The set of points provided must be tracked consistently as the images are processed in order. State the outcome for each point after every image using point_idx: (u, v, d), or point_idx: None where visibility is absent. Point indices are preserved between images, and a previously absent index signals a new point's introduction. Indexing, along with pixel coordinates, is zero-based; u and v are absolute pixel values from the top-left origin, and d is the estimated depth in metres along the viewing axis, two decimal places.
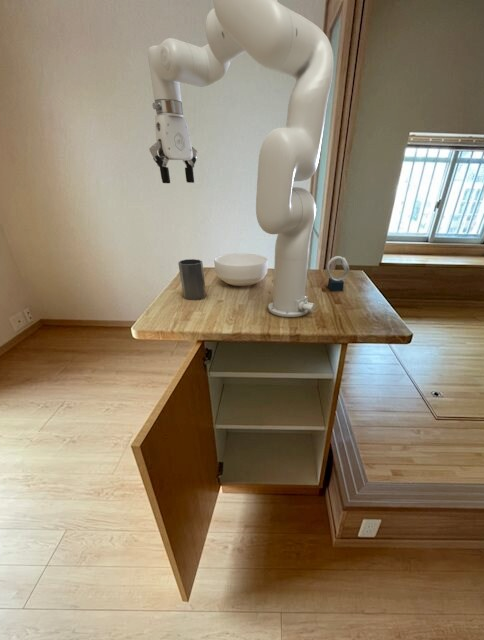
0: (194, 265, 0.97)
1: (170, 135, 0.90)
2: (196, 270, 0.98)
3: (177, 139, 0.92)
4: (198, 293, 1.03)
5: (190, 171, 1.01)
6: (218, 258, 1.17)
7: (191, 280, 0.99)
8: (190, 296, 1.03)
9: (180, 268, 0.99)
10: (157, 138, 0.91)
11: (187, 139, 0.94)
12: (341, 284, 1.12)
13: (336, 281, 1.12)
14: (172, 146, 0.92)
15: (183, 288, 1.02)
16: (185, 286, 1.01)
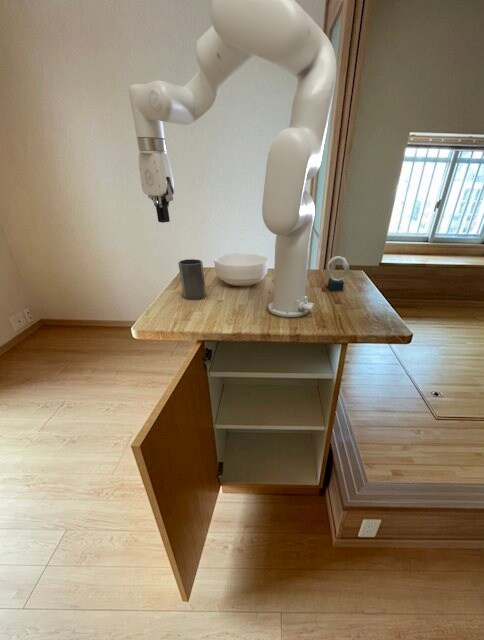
0: (194, 265, 0.97)
1: (142, 172, 0.90)
2: (196, 270, 0.98)
3: (147, 175, 0.90)
4: (198, 293, 1.03)
5: None
6: (218, 258, 1.17)
7: (191, 280, 0.99)
8: (190, 296, 1.03)
9: (180, 268, 0.99)
10: None
11: (155, 175, 0.88)
12: (341, 284, 1.12)
13: (336, 281, 1.12)
14: (144, 182, 0.92)
15: (183, 288, 1.02)
16: (185, 286, 1.01)
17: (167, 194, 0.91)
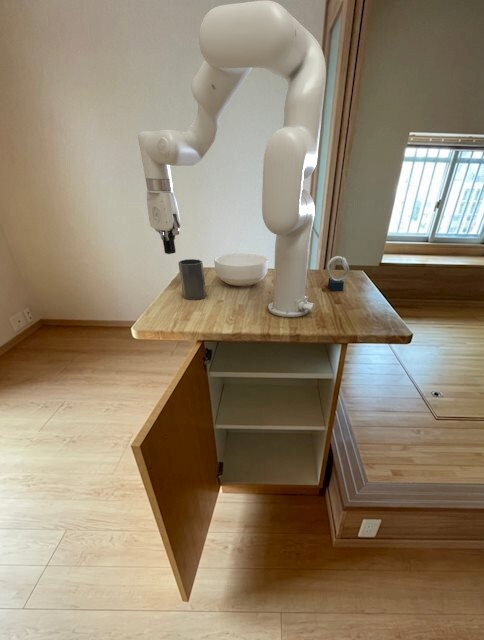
0: (194, 265, 0.97)
1: (150, 208, 0.96)
2: (196, 270, 0.98)
3: (155, 212, 0.95)
4: (198, 293, 1.03)
5: None
6: (218, 258, 1.17)
7: (191, 280, 0.99)
8: (190, 296, 1.03)
9: (180, 268, 0.99)
10: None
11: (163, 212, 0.93)
12: (341, 284, 1.12)
13: (336, 281, 1.12)
14: (151, 217, 0.97)
15: (183, 288, 1.02)
16: (185, 286, 1.01)
17: (173, 229, 0.96)
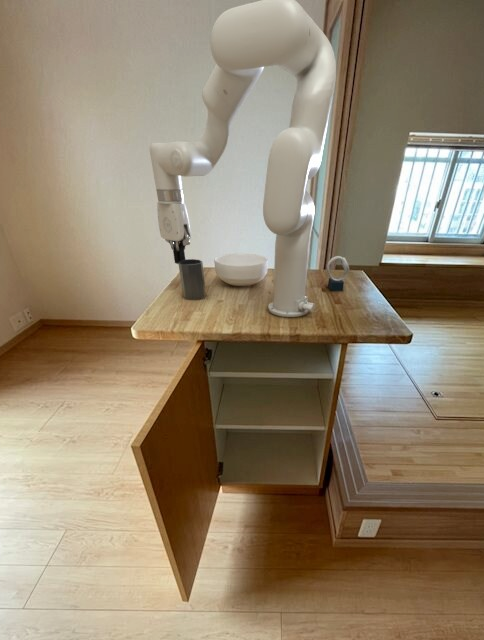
0: (194, 265, 0.97)
1: (160, 219, 0.95)
2: (196, 270, 0.98)
3: (165, 222, 0.94)
4: (198, 293, 1.03)
5: None
6: (218, 258, 1.17)
7: (191, 280, 0.99)
8: (190, 296, 1.03)
9: (180, 268, 0.99)
10: None
11: (174, 223, 0.92)
12: (341, 284, 1.12)
13: (336, 281, 1.12)
14: (162, 228, 0.96)
15: (183, 288, 1.02)
16: (185, 286, 1.01)
17: (184, 239, 0.96)
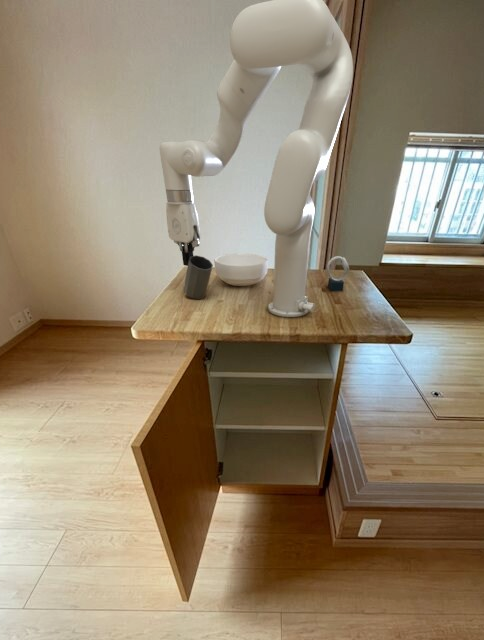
0: (205, 270, 0.96)
1: (169, 220, 0.93)
2: (205, 275, 0.97)
3: (174, 223, 0.92)
4: (200, 294, 1.02)
5: None
6: (218, 258, 1.17)
7: (198, 282, 0.98)
8: (191, 294, 1.02)
9: (189, 267, 0.96)
10: None
11: (183, 224, 0.90)
12: (341, 284, 1.12)
13: (336, 281, 1.12)
14: (171, 229, 0.94)
15: (186, 284, 1.01)
16: (189, 284, 1.00)
17: (193, 241, 0.94)
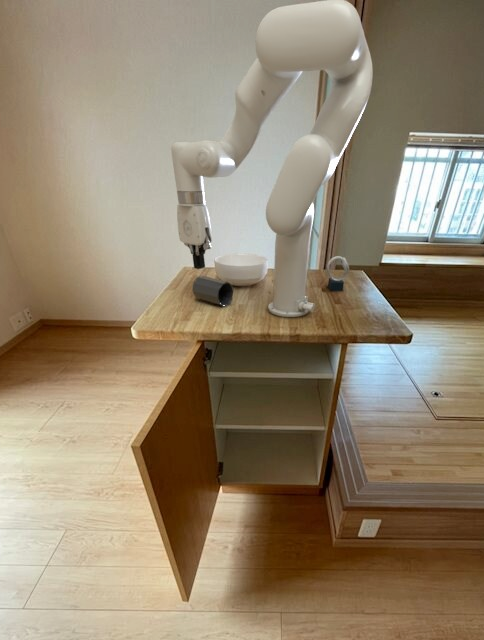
0: None
1: (180, 222, 0.90)
2: None
3: (186, 226, 0.90)
4: (203, 300, 1.03)
5: None
6: (218, 258, 1.17)
7: (210, 301, 0.99)
8: (196, 296, 1.01)
9: (214, 292, 0.95)
10: None
11: (195, 226, 0.88)
12: (341, 284, 1.12)
13: (336, 281, 1.12)
14: (181, 231, 0.92)
15: (199, 289, 0.98)
16: (201, 294, 0.98)
17: (205, 243, 0.91)
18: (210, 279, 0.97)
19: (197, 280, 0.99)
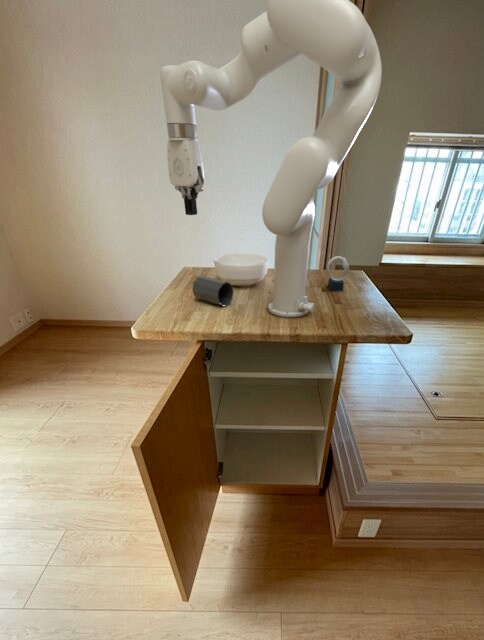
0: None
1: (170, 161, 0.85)
2: None
3: (176, 164, 0.85)
4: (203, 300, 1.03)
5: None
6: (218, 258, 1.17)
7: (210, 301, 0.99)
8: (196, 296, 1.01)
9: (214, 292, 0.95)
10: None
11: (186, 164, 0.83)
12: (341, 284, 1.12)
13: (336, 281, 1.12)
14: (172, 172, 0.87)
15: (199, 289, 0.98)
16: (201, 294, 0.98)
17: (197, 184, 0.86)
18: (210, 279, 0.97)
19: (197, 280, 0.99)
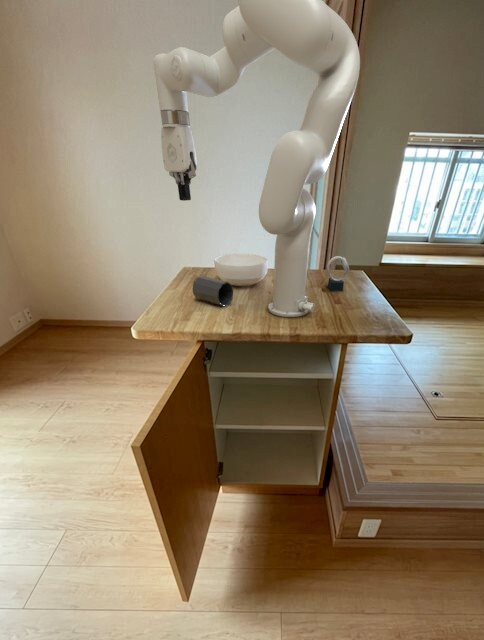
0: None
1: (164, 147, 0.89)
2: None
3: (170, 150, 0.88)
4: (203, 300, 1.03)
5: None
6: (218, 258, 1.17)
7: (210, 301, 0.99)
8: (196, 296, 1.01)
9: (214, 292, 0.95)
10: None
11: (179, 149, 0.86)
12: (341, 284, 1.12)
13: (336, 281, 1.12)
14: (166, 158, 0.90)
15: (199, 289, 0.98)
16: (201, 294, 0.98)
17: (190, 170, 0.90)
18: (210, 279, 0.97)
19: (197, 280, 0.99)
